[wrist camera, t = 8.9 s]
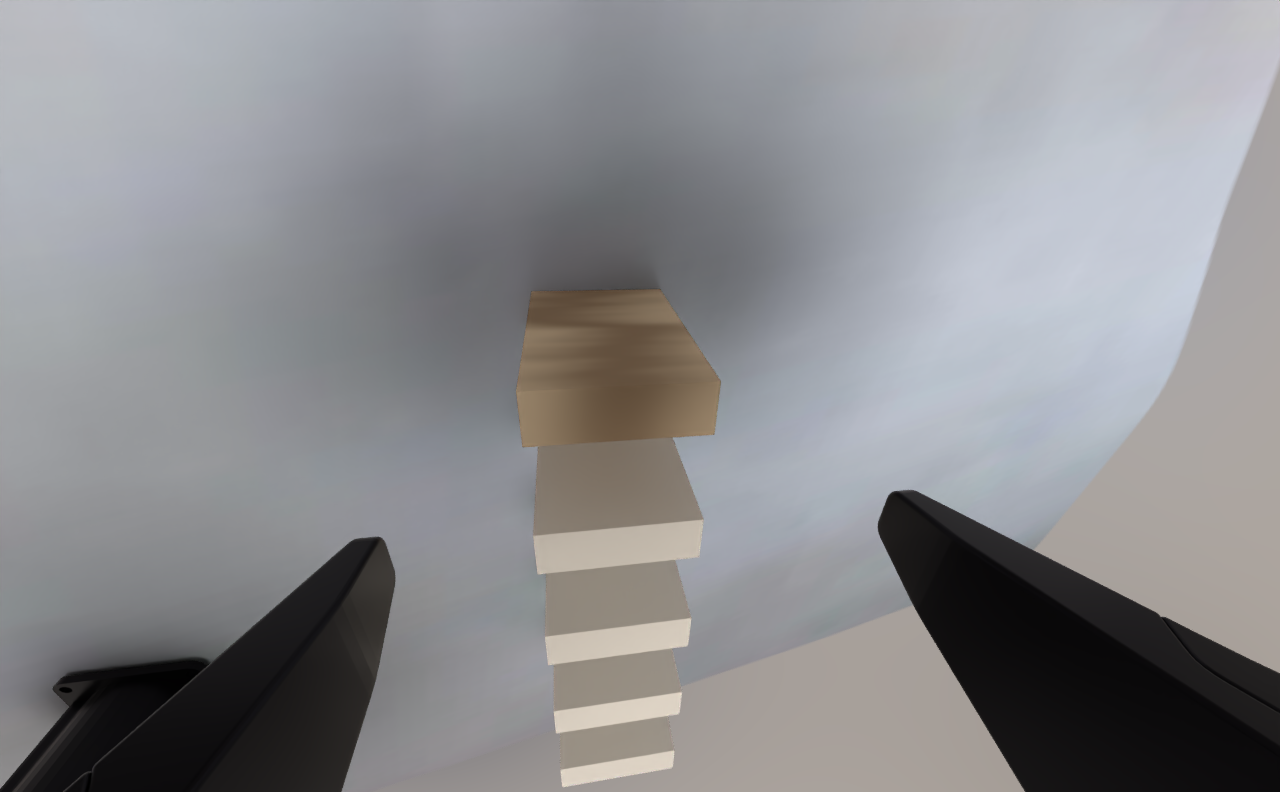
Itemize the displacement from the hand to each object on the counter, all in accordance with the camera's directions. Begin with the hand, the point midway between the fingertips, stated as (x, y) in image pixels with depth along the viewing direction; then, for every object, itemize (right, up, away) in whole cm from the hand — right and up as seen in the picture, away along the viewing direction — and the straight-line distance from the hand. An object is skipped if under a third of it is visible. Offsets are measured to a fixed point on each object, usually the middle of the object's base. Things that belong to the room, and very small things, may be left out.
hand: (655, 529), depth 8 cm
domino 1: (-2, +2, +13) cm, 13 cm away
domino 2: (-2, -2, +15) cm, 15 cm away
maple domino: (-2, +6, +10) cm, 12 cm away
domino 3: (-2, -6, +17) cm, 18 cm away
